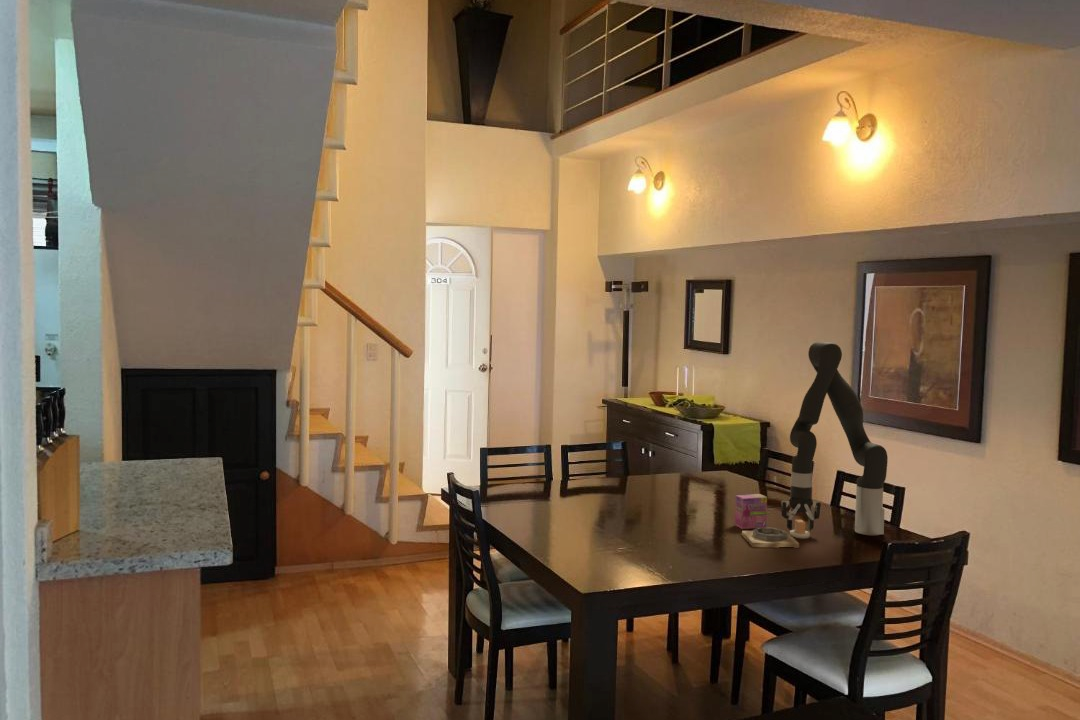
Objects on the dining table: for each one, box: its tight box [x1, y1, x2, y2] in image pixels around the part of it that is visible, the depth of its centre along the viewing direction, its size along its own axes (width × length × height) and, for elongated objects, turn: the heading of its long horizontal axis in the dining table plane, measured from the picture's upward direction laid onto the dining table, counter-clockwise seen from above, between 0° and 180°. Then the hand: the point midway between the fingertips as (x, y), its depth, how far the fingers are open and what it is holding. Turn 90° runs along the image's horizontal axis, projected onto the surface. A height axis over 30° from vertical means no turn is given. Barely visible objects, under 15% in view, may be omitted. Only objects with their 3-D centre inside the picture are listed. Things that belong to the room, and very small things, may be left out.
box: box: [734, 493, 768, 530], centre depth 324 cm, size 10×6×12 cm, turn 105°
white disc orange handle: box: [789, 519, 811, 539], centre depth 312 cm, size 7×7×6 cm
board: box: [741, 530, 800, 549], centre depth 304 cm, size 16×16×2 cm
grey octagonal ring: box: [752, 526, 788, 541], centre depth 304 cm, size 11×11×2 cm
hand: (799, 529), depth 312 cm, fingers open, 6 cm apart
